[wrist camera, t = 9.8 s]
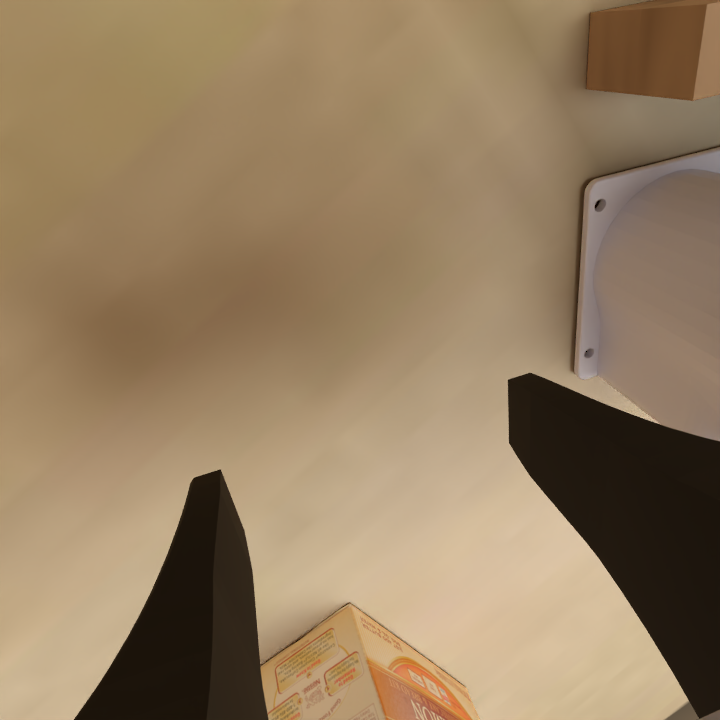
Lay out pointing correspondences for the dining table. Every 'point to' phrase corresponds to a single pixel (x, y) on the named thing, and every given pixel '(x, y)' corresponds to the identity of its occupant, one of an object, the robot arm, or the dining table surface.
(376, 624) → the coffeecake box
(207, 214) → the dining table surface
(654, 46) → the walnut plank
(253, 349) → the dining table surface
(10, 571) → the dining table surface
